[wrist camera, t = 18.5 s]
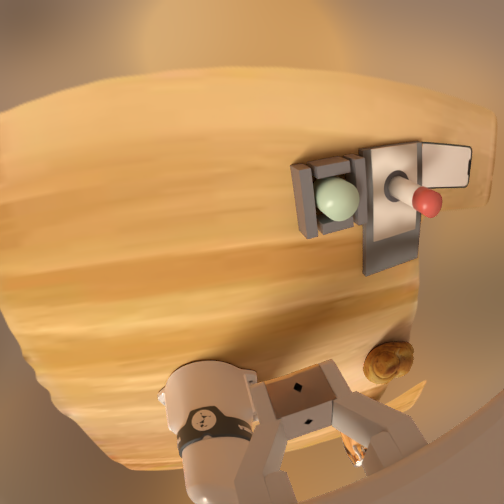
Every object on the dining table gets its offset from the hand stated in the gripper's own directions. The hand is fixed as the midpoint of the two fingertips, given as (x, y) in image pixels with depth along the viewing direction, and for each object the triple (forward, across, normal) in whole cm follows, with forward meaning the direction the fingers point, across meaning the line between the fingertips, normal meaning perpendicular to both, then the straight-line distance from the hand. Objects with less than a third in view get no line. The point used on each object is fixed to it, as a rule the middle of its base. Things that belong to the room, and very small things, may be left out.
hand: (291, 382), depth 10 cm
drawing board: (+29, +25, -10) cm, 40 cm away
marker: (+28, +25, -6) cm, 38 cm away
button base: (+29, +14, -5) cm, 33 cm away
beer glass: (+29, +18, -66) cm, 74 cm away
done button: (+29, +14, -5) cm, 33 cm away
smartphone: (+30, +37, -5) cm, 48 cm away
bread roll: (+29, +27, -44) cm, 59 cm away
